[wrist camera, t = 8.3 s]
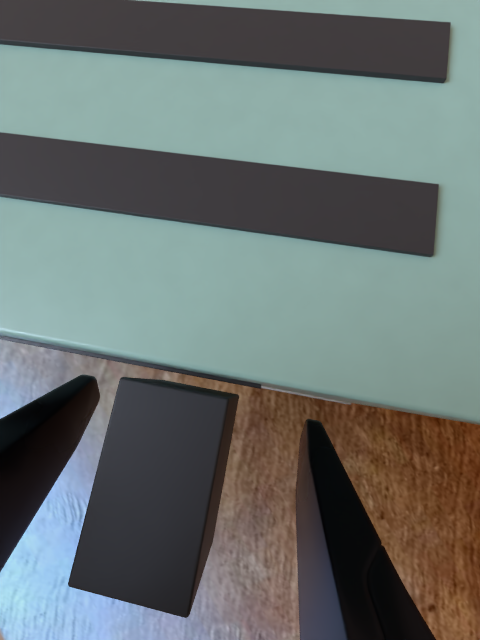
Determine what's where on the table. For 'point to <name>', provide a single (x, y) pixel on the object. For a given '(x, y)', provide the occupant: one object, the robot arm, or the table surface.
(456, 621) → the table surface
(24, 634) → the table surface
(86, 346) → the toaster
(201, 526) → the slider
